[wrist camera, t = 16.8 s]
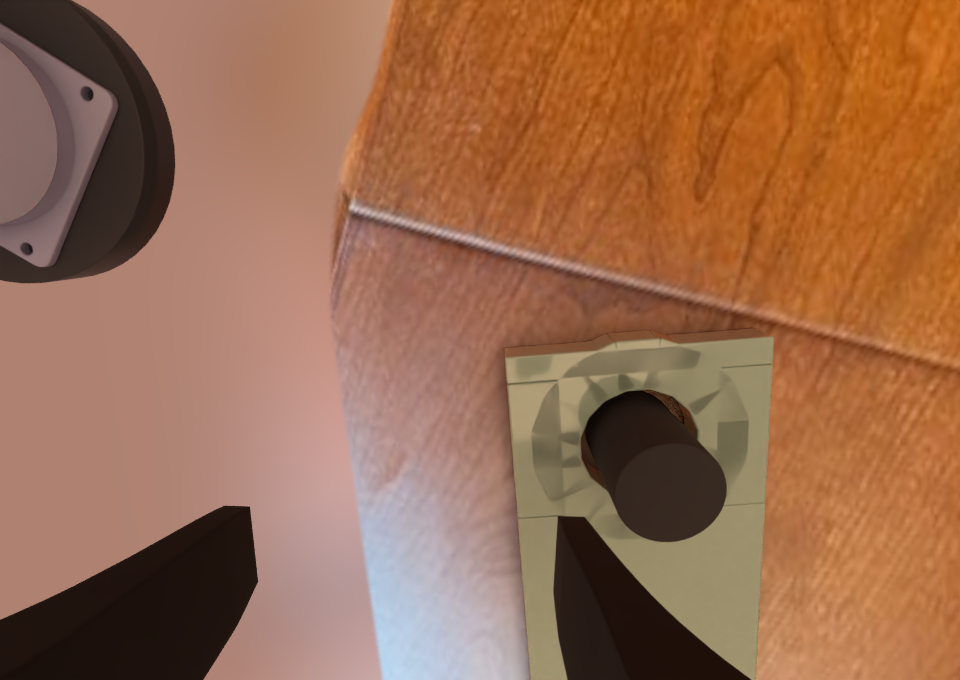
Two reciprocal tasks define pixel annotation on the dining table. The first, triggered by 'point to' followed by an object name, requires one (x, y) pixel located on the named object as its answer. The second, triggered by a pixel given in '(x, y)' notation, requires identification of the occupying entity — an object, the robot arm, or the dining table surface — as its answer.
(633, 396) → the stopper
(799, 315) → the dining table surface
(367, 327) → the dining table surface
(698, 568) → the plate
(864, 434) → the dining table surface
